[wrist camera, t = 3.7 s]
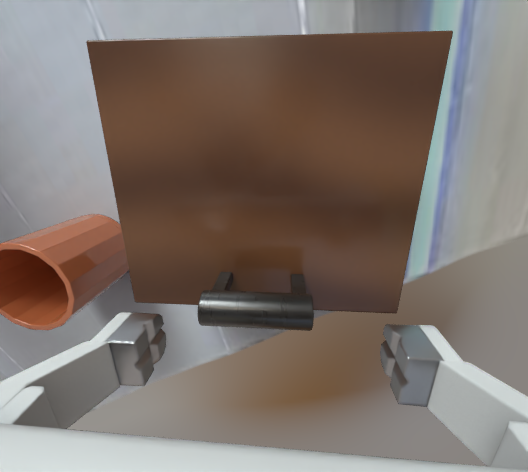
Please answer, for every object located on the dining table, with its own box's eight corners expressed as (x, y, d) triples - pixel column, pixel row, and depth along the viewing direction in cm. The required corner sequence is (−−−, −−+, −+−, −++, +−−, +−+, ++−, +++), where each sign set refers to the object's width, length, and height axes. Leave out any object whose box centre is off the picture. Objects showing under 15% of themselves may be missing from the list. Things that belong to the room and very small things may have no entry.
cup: (77, 277, 25) (-4, 327, 18) (60, 213, 23) (-39, 242, 16) (140, 279, 25) (83, 332, 18) (129, 214, 23) (59, 245, 16)
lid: (391, 305, 16) (434, 367, 11) (141, 295, 17) (90, 348, 12) (442, 37, 11) (544, -32, 7) (97, 46, 12) (-6, -10, 8)
